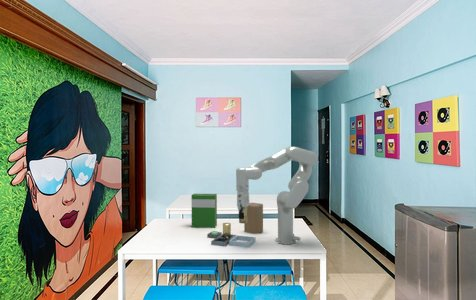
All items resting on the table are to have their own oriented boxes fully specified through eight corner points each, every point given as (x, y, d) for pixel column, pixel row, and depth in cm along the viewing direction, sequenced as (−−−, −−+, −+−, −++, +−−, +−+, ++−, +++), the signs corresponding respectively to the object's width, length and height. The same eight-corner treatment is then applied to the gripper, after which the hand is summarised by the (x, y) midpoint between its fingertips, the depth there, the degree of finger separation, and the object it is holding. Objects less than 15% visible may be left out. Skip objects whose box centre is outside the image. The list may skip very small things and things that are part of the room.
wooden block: (251, 230, 222) (251, 202, 222) (263, 232, 216) (263, 203, 216) (243, 233, 214) (243, 204, 214) (256, 235, 208) (256, 205, 208)
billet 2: (248, 221, 190) (248, 205, 190) (245, 223, 186) (245, 207, 185) (240, 221, 192) (240, 205, 192) (237, 223, 187) (237, 206, 187)
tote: (255, 242, 192) (255, 237, 192) (248, 249, 181) (248, 243, 181) (236, 240, 197) (236, 235, 197) (229, 246, 185) (229, 240, 185)
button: (218, 235, 204) (218, 231, 204) (216, 237, 200) (216, 232, 200) (213, 235, 205) (213, 230, 205) (210, 236, 202) (210, 232, 202)
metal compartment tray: (223, 238, 203) (223, 233, 203) (236, 239, 199) (236, 235, 199) (211, 246, 186) (211, 241, 186) (225, 248, 183) (225, 243, 183)
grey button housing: (221, 237, 205) (221, 232, 205) (217, 240, 198) (217, 235, 198) (212, 236, 207) (212, 231, 207) (207, 239, 201) (207, 234, 201)
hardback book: (216, 225, 235) (216, 193, 235) (215, 227, 228) (215, 195, 228) (193, 224, 237) (193, 193, 237) (191, 227, 230) (191, 195, 229)
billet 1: (231, 238, 198) (231, 223, 198) (228, 240, 193) (228, 225, 193) (224, 237, 200) (224, 222, 200) (221, 240, 195) (221, 224, 195)
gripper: (243, 190, 179) (244, 221, 179) (252, 186, 195) (253, 215, 195) (231, 189, 182) (232, 220, 182) (241, 186, 198) (242, 214, 198)
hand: (243, 217), depth 189 cm, fingers closed on billet 2, 5 cm apart
